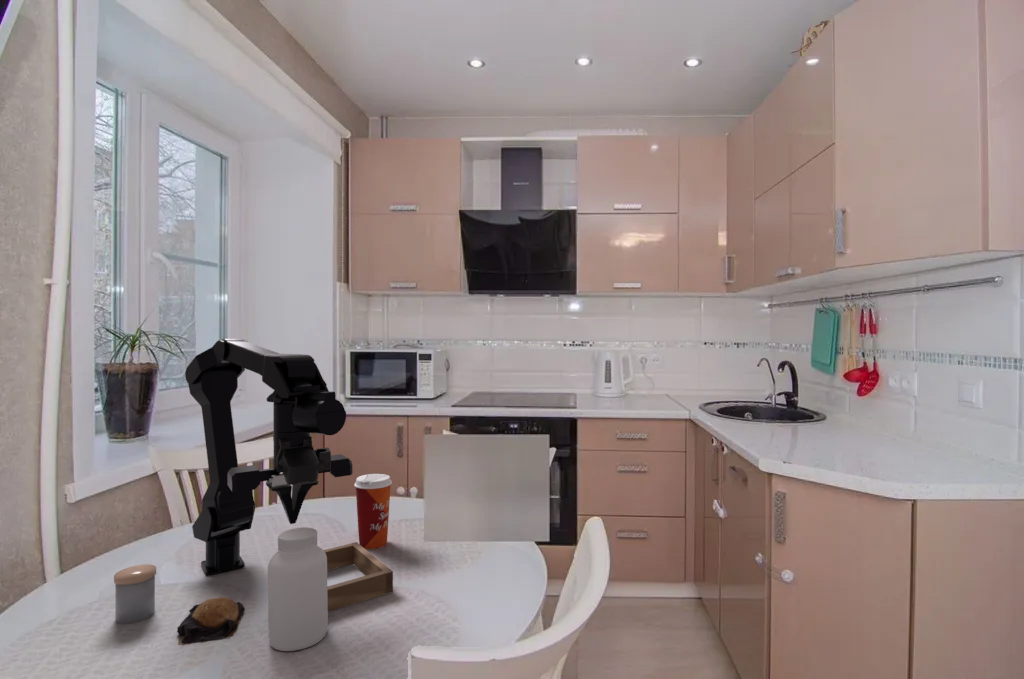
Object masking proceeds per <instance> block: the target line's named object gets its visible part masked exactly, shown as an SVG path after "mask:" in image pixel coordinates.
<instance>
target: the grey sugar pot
mask: <svg viewBox="0 0 1024 679" xmlns="http://www.w3.org/2000/svg"><path fill="white" fill-rule="evenodd" d="M156 575H157V566H156V565H154V564H149V563H148V564H145V563H144V564H137V565H133V566H129V567H125V568H124V569H121V570H119V571H117V572H115V574H114V575H113V583H114V584H115V593H114V594H115V606H114V607H115V608H114V609H115V613H114V614H115V617H114V618H115V622H116V623H117V624H119V625H128V624H129V625H131V624H136V623H139V622H142V621H144V620H146V619H148V618H150V617H151V616H153V615H154V614H155V612H156V609H155V608H156V607H155V606H156V603H155V602H156V598H155V597H156V596H155V595H156V594H155V593H156Z"/></svg>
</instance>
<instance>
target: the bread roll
mask: <svg viewBox="0 0 1024 679" xmlns="http://www.w3.org/2000/svg"><path fill="white" fill-rule="evenodd" d="M245 610H246V609H245V606H244V604H243V603H242V602H241V601H237V602H236V601H235V600H234V599H233V598H230V597H229V598H228V597H226V596H225V597H223V596H220V597H214V598H209V599H207V600H205V601H202V602H201V603H199V604H195V605H194V606H193V607H192V608H190V609H189V610H188V612H189V613H188V615H187V616H186V617H185V618H184V619H183V620H182V621H181V622H180V624H179V625H178V626H177V628H176V629H177V630H176V633H178V640H177V645H178V646H184V645H190V644H195V643H201V642H211V641H217V640H221V639H225V638H228V637H232V636H234V635H235V633H236V632H237V630H238V628H239V626H240V623H241V618H242V617H243V616H244V612H245Z"/></svg>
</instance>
